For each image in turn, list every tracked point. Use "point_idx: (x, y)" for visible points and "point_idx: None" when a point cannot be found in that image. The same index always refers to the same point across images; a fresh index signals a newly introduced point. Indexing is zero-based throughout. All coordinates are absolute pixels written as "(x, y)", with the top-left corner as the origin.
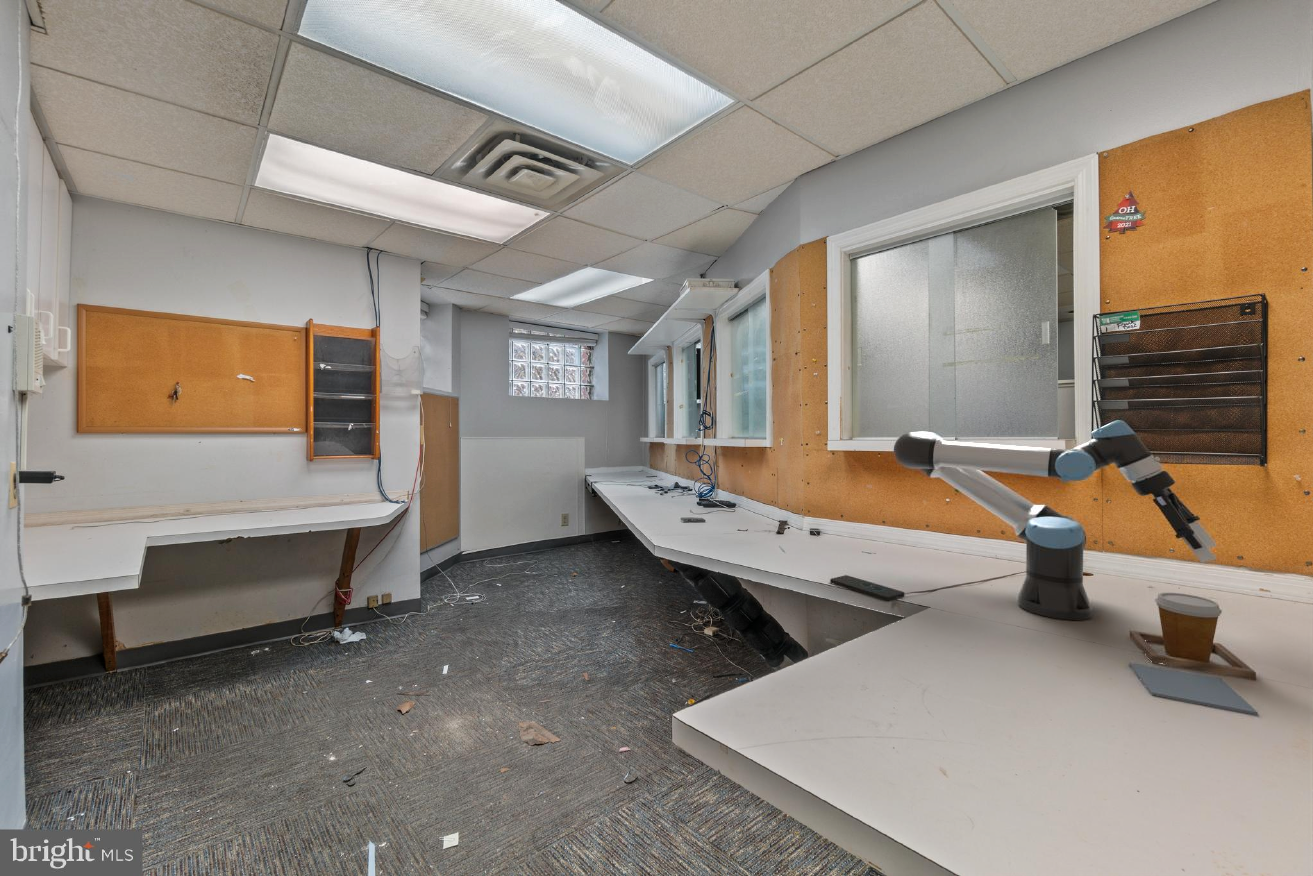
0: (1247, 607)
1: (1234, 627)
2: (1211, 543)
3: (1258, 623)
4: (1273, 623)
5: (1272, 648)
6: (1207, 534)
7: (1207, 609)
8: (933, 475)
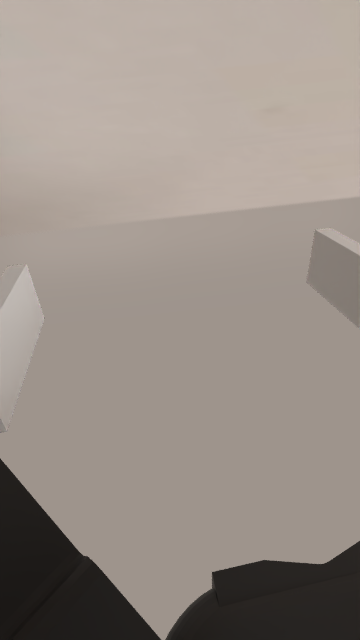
0: (357, 129)
1: (127, 131)
2: (317, 277)
3: (213, 161)
4: (234, 179)
5: (10, 202)
6: (340, 311)
7: None
8: None
